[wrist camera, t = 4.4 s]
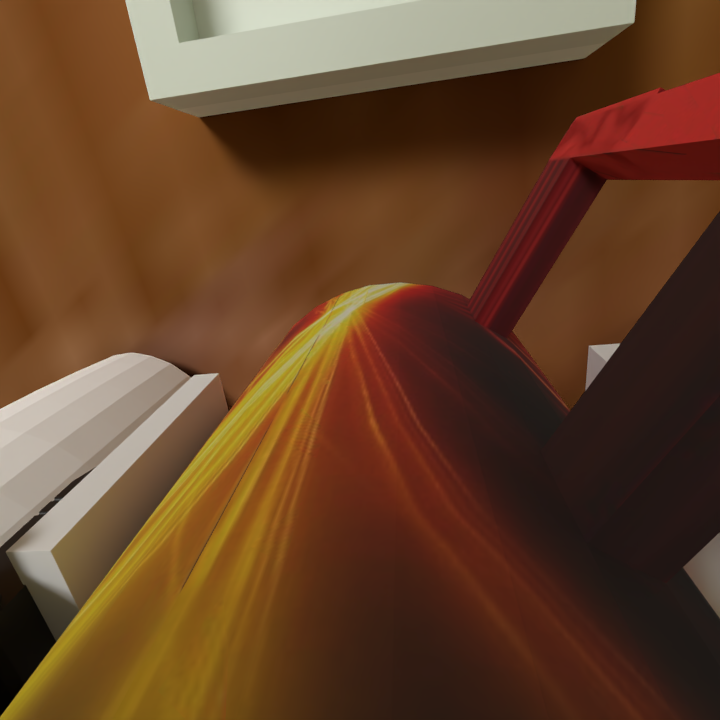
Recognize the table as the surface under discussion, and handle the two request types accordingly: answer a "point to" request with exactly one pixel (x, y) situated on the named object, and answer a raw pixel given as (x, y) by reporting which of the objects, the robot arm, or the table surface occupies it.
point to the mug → (441, 501)
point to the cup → (74, 429)
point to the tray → (350, 45)
